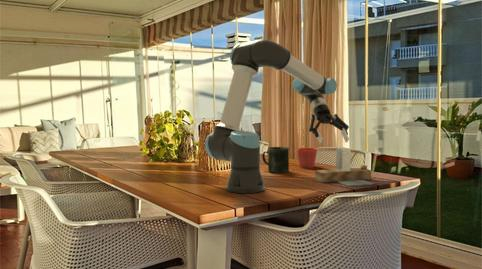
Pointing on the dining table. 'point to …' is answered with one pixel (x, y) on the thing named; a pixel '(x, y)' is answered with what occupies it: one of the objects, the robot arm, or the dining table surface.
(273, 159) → the mug
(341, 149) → the white rectangular block
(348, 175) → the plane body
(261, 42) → the robot arm
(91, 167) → the dining table surface
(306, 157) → the flower pot
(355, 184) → the mat
